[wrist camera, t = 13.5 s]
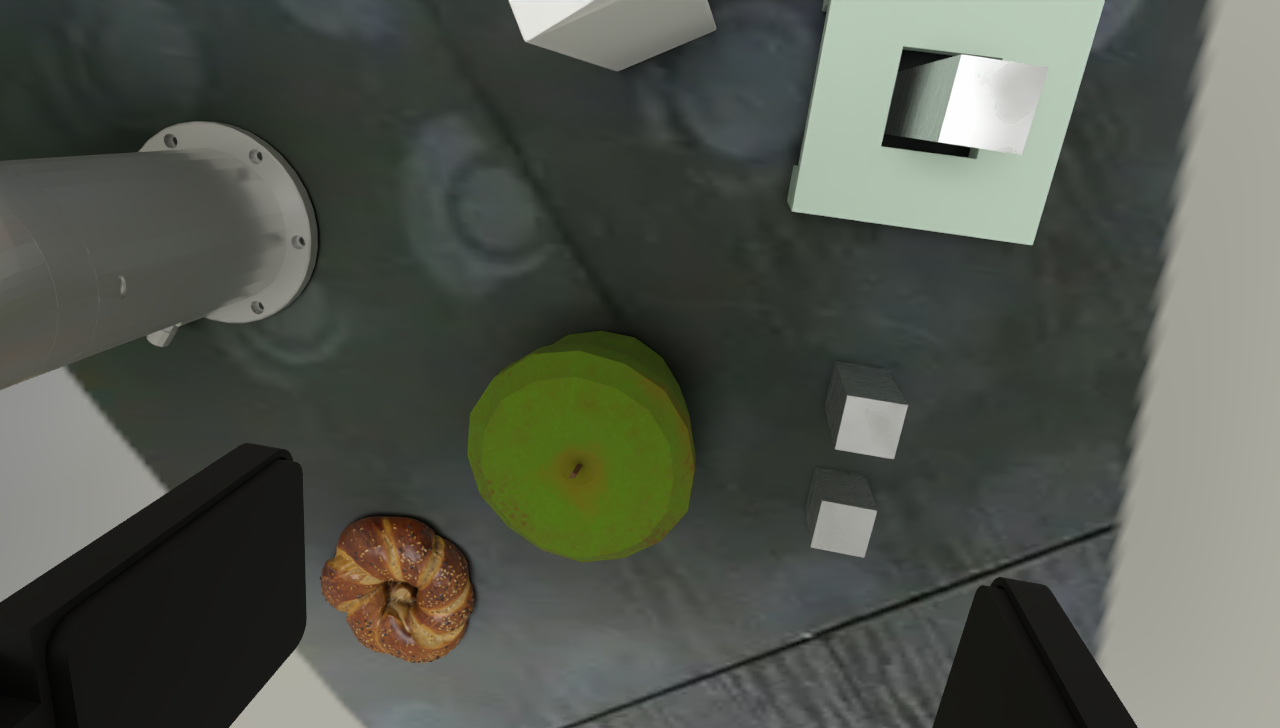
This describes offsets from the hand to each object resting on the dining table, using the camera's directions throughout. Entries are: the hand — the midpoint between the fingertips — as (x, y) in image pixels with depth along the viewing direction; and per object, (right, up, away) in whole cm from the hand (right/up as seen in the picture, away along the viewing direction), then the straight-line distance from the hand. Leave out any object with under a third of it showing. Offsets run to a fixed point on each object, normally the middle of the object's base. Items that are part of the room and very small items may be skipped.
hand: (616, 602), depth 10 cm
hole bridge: (+15, +17, +31) cm, 38 cm away
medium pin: (+14, +2, +36) cm, 39 cm away
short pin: (+13, -5, +39) cm, 41 cm away
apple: (-2, +1, +39) cm, 39 cm away
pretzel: (-17, -12, +46) cm, 50 cm away
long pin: (+15, +17, +31) cm, 38 cm away
